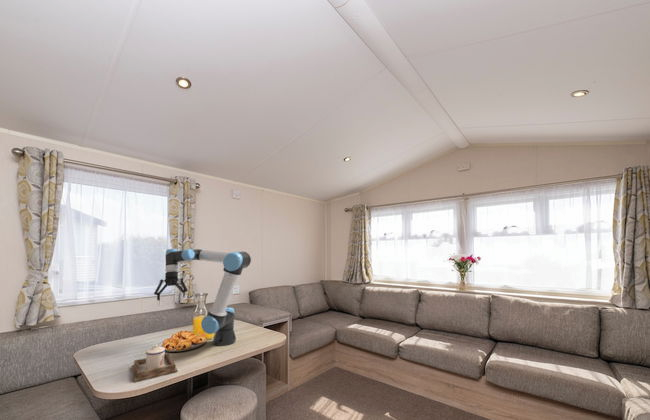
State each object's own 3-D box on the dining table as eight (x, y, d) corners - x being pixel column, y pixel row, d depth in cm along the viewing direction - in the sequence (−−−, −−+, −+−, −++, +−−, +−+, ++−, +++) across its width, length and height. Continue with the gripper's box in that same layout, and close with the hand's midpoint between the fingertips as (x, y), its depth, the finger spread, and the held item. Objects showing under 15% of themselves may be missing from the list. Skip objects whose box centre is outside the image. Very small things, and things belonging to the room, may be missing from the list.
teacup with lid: (164, 369, 155) (165, 346, 157) (144, 372, 151) (145, 349, 152) (164, 361, 166) (165, 339, 167) (146, 364, 162) (147, 342, 163)
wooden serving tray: (169, 359, 173) (170, 352, 173) (177, 372, 155) (177, 364, 156) (131, 367, 161) (132, 360, 162) (135, 382, 144) (135, 374, 144)
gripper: (188, 271, 211) (188, 302, 205) (149, 273, 194) (148, 306, 188) (192, 270, 206) (192, 301, 200) (152, 271, 189) (151, 306, 183)
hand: (171, 304), depth 194 cm, fingers open, 13 cm apart
